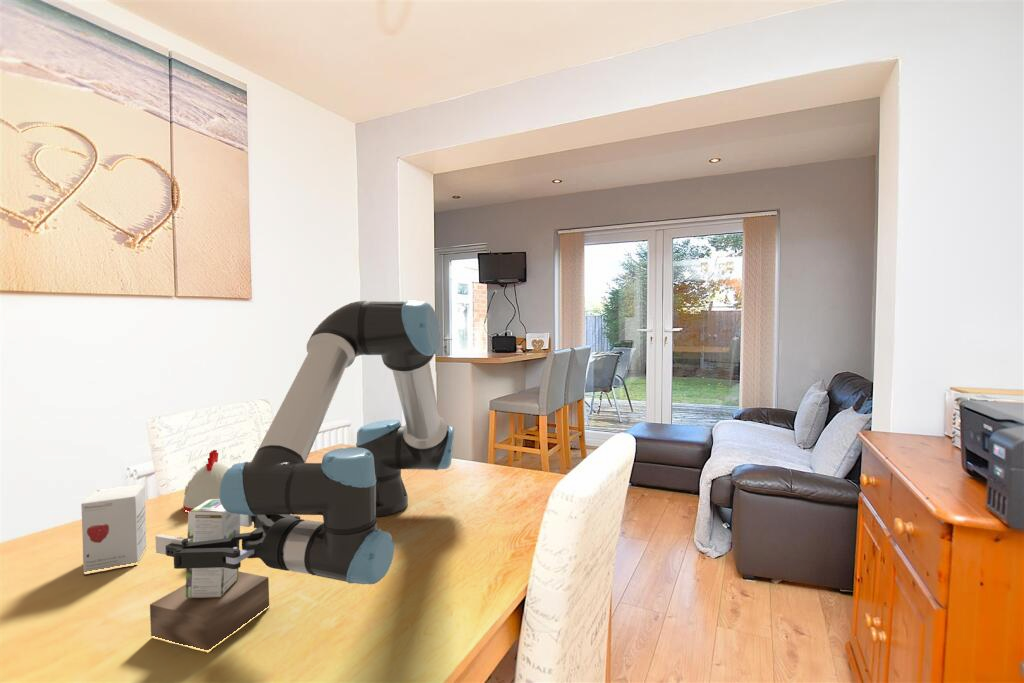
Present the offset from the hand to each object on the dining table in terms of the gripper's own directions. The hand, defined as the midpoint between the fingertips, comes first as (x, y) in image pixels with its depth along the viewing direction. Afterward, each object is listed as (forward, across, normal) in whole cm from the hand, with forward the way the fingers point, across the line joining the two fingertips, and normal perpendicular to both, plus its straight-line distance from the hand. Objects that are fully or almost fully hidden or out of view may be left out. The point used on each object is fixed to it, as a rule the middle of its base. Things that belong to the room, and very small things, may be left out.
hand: (192, 528), depth 80 cm
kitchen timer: (+42, +40, -16) cm, 61 cm away
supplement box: (+34, +10, -16) cm, 39 cm away
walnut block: (-4, 0, -16) cm, 17 cm away
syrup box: (-4, 0, -10) cm, 11 cm away
